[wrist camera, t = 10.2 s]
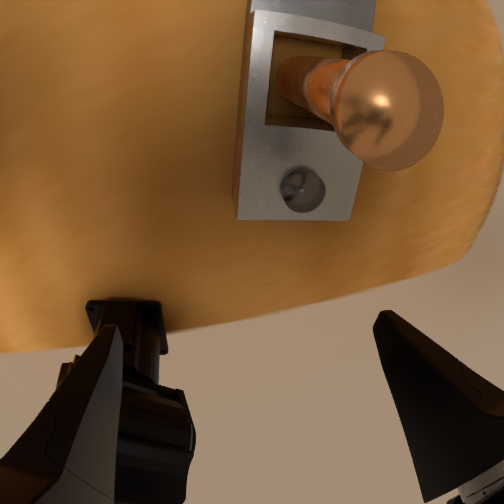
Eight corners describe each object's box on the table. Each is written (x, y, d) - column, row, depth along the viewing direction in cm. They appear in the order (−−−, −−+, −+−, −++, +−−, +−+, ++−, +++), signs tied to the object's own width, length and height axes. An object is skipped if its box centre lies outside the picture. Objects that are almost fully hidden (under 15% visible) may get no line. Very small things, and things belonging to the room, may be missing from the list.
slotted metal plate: (332, 199, 22) (353, 225, 19) (231, 197, 20) (238, 225, 17) (366, -35, 12) (397, -46, 9) (254, -61, 11) (267, -83, 8)
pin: (327, 114, 18) (428, 176, 10) (264, 108, 17) (330, 165, 9) (335, 54, 16) (451, 71, 8) (270, 44, 15) (350, 36, 7)
